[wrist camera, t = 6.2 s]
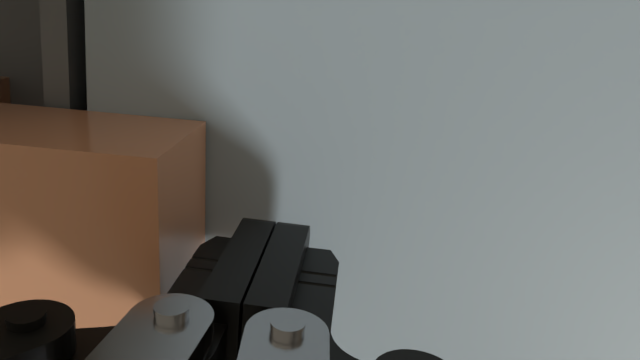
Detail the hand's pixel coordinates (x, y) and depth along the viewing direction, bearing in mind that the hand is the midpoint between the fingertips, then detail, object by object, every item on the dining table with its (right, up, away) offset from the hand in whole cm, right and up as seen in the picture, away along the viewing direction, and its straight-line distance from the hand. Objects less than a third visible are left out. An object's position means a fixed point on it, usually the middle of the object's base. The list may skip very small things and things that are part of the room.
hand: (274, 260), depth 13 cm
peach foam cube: (-4, +1, +1) cm, 4 cm away
